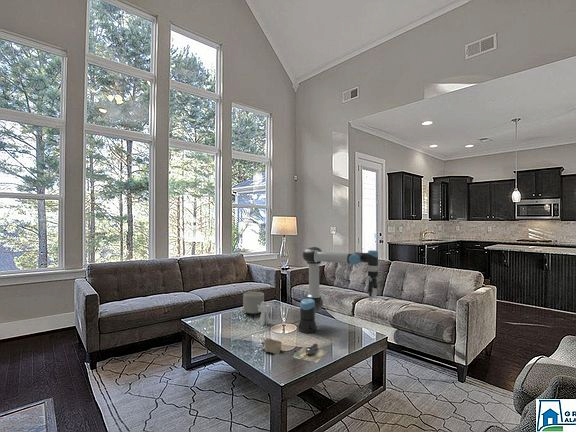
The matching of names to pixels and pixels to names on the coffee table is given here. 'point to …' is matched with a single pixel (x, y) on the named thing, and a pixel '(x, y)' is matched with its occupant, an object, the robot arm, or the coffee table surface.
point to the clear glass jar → (264, 313)
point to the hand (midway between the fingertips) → (372, 298)
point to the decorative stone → (272, 346)
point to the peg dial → (311, 350)
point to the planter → (252, 302)
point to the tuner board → (313, 358)
